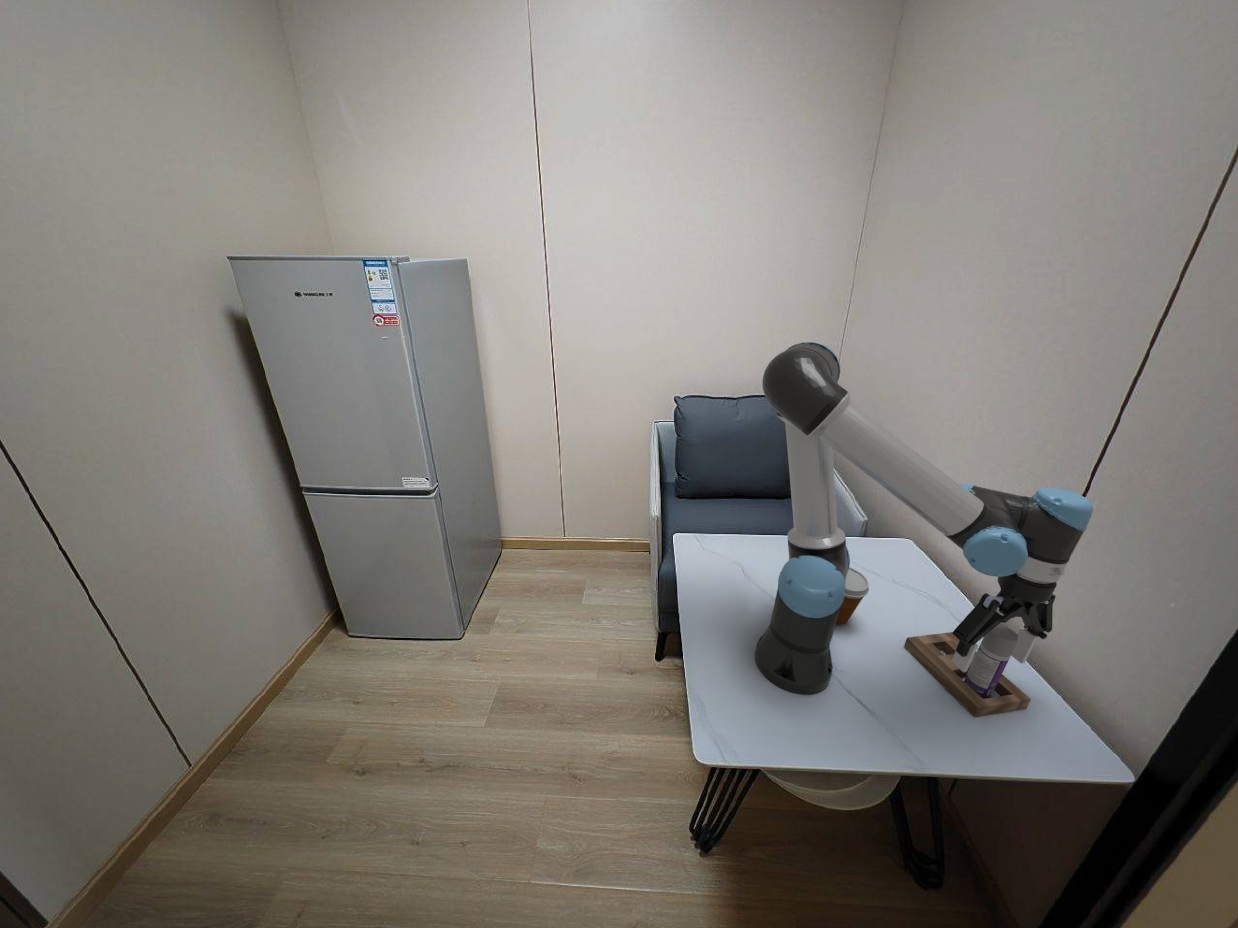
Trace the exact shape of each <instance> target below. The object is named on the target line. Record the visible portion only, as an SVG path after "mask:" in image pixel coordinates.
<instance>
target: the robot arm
mask: <svg viewBox="0 0 1238 928" xmlns="http://www.w3.org/2000/svg"><path fill="white" fill-rule="evenodd" d="M840 374H841V364H840V360H839V359H838V356H837V355H836V353H835V352H834V351H833V350H832V349H831V348H830V347H828V346H827V345H825V344H823V343H820V342H817V341H816V342H815V341H807V342H804V341H803V342H799V343H795V344H793V345H791V346H790V347H788V348H787V349H785V350H783V351H782V352H780V353H778V354H777V355H776V356H775V357H774V358H772V359H771V360H770V362H768V364H767V366H766V368H765V369H764V372H763V377H762V382H761V383H762V390H763V395H764V396H765V398H766V401H767V402H768V404H769V405H770V406H771V407H772V409H774V410H775V411H776V413H775V414H776V417H777V418H778V419H779V420H781V421H782V422H784V425H785V435H786V436H785V437H786V447H787V458H788V459H787V461H788V472H789V482H790V496H791V507H792V509H791V510H792V518H793V521H792V522H793V527H792V528H791V529H790V530H789V531H788V532H787V547H788V548H787V549H788V561H787V562H785V564H784V565H783V566H782V567H781V570H780V573H779V575H778V579H777V590H776V596H775V599H774V603H773V607H772V608H773V609H772V612H771V613H772V614H771V617H770V618H771V619H770V622H769V626H767V628H766V630H765V632H764V633H763V634H762V635H761V636H760V637H759V639H758V641H757V643H756V647H755V652H754V660H755V663H756V666H757V667H758V669H759V671H760V672H761V674H762V675H763V676H764V677H766V679H768V680H769V681H770V682H771V683H772V684H774V685H776V686H777V687H779V688H781V689H783V690H785V691H788V692H791V693H795V694H798V695H799V694H801V695H812V694H816V693H819V692H821V691H824V690H826V688H827V687H828V686H829V684H830V681H831V679H832V676H833V675H832V674H833V660H832V654H831V647H830V645H831V641H832V639H833V634H834V631H835V627H836V625H835V624H836V621H837V617H838V614H839V610H840V607H841V604H842V603H843V600H844V597H845V581H846V576H847V573H848V569H849V567H850V566H851V557H850V553H849V549H848V547H847V541H846V540H847V539H846V538H847V537H846V533H845V532H844V531H843V529H841V528H840V527H838V519H837V501H836V500H837V499H836V484H835V467H834V451H833V450H835V451H836V452H837V453H838V454H840V455H841V456H842V457H844V458H845V459H846V460H847V461H849V462H850V463H851V464H853V465H854V466H855V467H856V468H858V469H859V470H860V471H861V472H863V474H865V475H867V476H868V477H869V478H871V479H872V480H873V481H874V482H876V483H877V484H878V485H879V486H881V487H882V488H884V490H886V491H887V492H889V494H891V495H892V496H893V497H895V498H896V499H897V500H899V501H900V502H901V503H902V504H904V505H905V506H907V507H908V508H909V509H910V510H911V511H912V512H914V513H915V514H917V515H918V516H919V517H920V518H922V519H923V520H925V522H927V524H929V525H931V526H932V527H934V528H935V529H936V530H937V531H938V532H940V533H941V534H942V535H943V536H945V537H946V538H948V539H949V540H950V541H951V542H952V543H953V544H954V545H956V546H957V547H959V548H960V549H961V550H962V554H963V556H964V557H965V559H966V560H967V563H968V564H969V565H970V567H971V568H973V569H974V570H976V571H977V572H979V574H983V575H986V576H988V577H989V576H990V577H996V578H997V583H998V585H999V588H1000V590H999V592H998V593H997V594H996V596H991V594H989V593H987V592H986V593H984V594H982V596H981V597H980V600H979V601H978V603H977V604H976V605H975V607H974V608H973V609H972V610H971V611H970V612H969V613H968V614H967V615H966V616H965V617H964V618H963V619H962V621H961V622H960V623H959V624H958V625H957V626H956V628H954V630H953V631H952V632H953V633H952V634H953V635H954V636H955V637H957V638H958V639H959V640H960V641H959V643H958V646H957V648H956V652H955V654H954V656H953V659H952V662H953V663H954V664H955V665H956V666H957V667H958V668H959V669H960V670H961V671H962V672H967V670H968V668H969V665H970V663H971V661H972V659H973V657H974V654H975V652H977V650H978V648H979V645H978V644H977V643H978V642H979V641H980V640H983V638H984V636H985V635H986V634H988V633H989V632H990V631H991V630H993V629H994V628H995V627H996V626H997V625H999V624H1000V625H1001V623H1007V622H1009V621H1010V620H1011V619H1014V618H1021V619H1022V621H1023V624H1024V626H1025V627H1020V628H1019V631H1018V632H1017V633H1016V634H1017V635H1018V640H1017V643H1016V645H1015V647H1014V650H1013V652H1012V654H1011V656H1010V657H1012V658H1014V659H1015V660H1016V661H1017V662H1018V663H1020V664H1021V665H1022V664H1025V663H1026V661H1027V659H1028V658H1029V655H1030V653H1031V651H1032V650H1033V647H1034V645H1035V643H1036V642H1037V640H1038V638H1040V639H1042V640H1045V639H1046V638H1047V637H1048V634H1047V633H1050V632H1052V631H1053V614H1054V613H1053V607H1054V606H1053V605H1054V603H1055V599H1056V597H1057V596H1056V595H1055V594H1054V592H1055V590H1056V588H1057V586H1058V585H1057V584H1058V583H1057V582H1059V580H1060V578H1061V576H1063V575H1064V574H1065V568H1066V567H1067V565H1068V563H1069V561H1070V559H1071V556H1072V555H1073V553H1074V552H1075V549H1076V547H1077V546H1078V544H1079V541H1080V540H1081V539H1082V536H1083V535H1084V533H1085V532H1086V530H1087V529H1088V524H1089V522H1090V519H1091V518H1092V514H1093V511H1094V505H1093V503H1092V502H1091V501H1090V500H1089V499H1088V498H1087V497H1086V496H1085V497H1084V496H1083V495H1081V494H1079V493H1077V492H1073V491H1071V490H1067V489H1063V488H1059V487H1048V486H1047V487H1040V488H1038V489H1037V490H1036V491H1035V493H1034V494H1032V497H1031V496H1026V495H1024V496H1023V495H1018V494H1014V493H1008V492H1005V491H1000V490H996V489H991V488H986V487H981V486H977V485H975V484H968V483H967V484H965V483H960V482H957V480H954V478H952V477H951V476H949V475H948V474H946V472H945V471H943V470H941V469H940V468H939V467H938V466H936V464H933V463H932V462H931V461H929V460H928V459H927V458H926V457H924V456H923V455H921V454H920V453H919V452H917V450H915V449H914V448H912V447H911V446H910V445H908V444H907V443H906V442H904V441H903V440H902V439H901V438H899V437H898V436H896V435H895V434H894V433H892V432H891V431H890V430H889V429H887V428H886V427H884V426H883V425H882V424H881V423H879V422H878V421H876V420H875V419H874V418H873V417H871V416H870V415H869V414H867V413H866V412H865V411H863V410H862V409H860V408H859V407H858V406H857V405H856V404H855V403H853V402H851V396H850V392H849V391H847V389H845V388H843V387H842V386H841V385H840V384H839V379H840Z"/></svg>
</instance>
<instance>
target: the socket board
mask: <svg viewBox="0 0 1238 928" xmlns="http://www.w3.org/2000/svg"><path fill="white" fill-rule="evenodd" d="M952 633H953V631H950V632H949V631H948V632H944V633H943V632H942V633H935V634H934V633H933V634H925V635H924V634H923V635H917V636H911V637H909V636H908V637H906V640H905V641H904V642H905V643H904V644H903V647H904V648H905V649H906V650H907V651H908V652H909V653H910V655H912V657H914V658H915V659H916V660H917V661H918V662H919V663H920V664H921V666H923V667H924V668H925V669H926V670H927V671H928V672H929V674H931V675H932V676H933V677H934V678H935V679H936V680H937V681H938V682H939V684H940V685H942V687H944V688H945V690H946V691H948V693H950V695H952V696H953V697H954V699H956V701H957V702H958V703H960V705H962V707H963V708H964V709H966V710H967V712H968V713H970V715H971V716H972V717H973V718H977V717H983V716H989V715H997V714H1001V713H1007V712H1014V711H1019V710H1021V711H1022V710H1027V708H1028V706H1029V704H1030V702H1031V701H1032V698H1030V697H1029V696H1028V695H1027V694H1026V693H1025V692H1024V691H1022V690H1021V689H1020V688H1019V687H1018V686H1017V685H1015V684H1014V683H1013V682H1012V681H1011V680H1010V679H1009V678H1007V677H1006V676H1005V675H1003V673H1002V675H1001V677H1000V679H999V681H998V683H997V685H996V687H995V689H994V691H993V692H994V693H996V694H997V695H998V696H994V697H990V698H987V699H982V698H981V697H980V696H979V695H978V694H977V693H976V692H975V691H974V690H973V689H972V688H971V687H969V686H968V685H967V684H966V683H965V682H964V679H962V678H965V677H966V675H967V673H968V670H969V668H970V666H971V664H972V661H973V659H974V657H975V655H976V652H977V651H976V652H975V654H974V657H973V659H972V661H971V663H970V665H969V668H968V670H967V672H962V671H961V670H960V669H959V668H958V667H957V666H956V665H955V664H954V663H953V662H952V659H953V656H954V654H955V652H956V648H957V646H958V643H959V641H960V640H959V639H958V638H957V637H955V636H954V635H953V634H952Z"/></svg>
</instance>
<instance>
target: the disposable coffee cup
mask: <svg viewBox="0 0 1238 928" xmlns="http://www.w3.org/2000/svg"><path fill="white" fill-rule="evenodd" d="M869 593H870V585H869V580H868V579H867V577H866V575H864V574H863V573H862V572H860V571H858V570H857V569H855V568H853V567H850V566H849V569H848V573H847V576H846V581H845V597H844V600H843V603H842V604H841V607H840V610H839V614H838V617H837V621H836V624H835V626H843V625H846V624H847V623H848V622H849V620H850V618H851V617H853V616H852V615H853V614H854V613H855V610H856V609H857V608H858V606H859V605H860V603H861V601H862V600H863V598H864V597H865V596H867V595H868V594H869Z"/></svg>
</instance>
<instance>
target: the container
mask: <svg viewBox="0 0 1238 928" xmlns="http://www.w3.org/2000/svg"><path fill="white" fill-rule="evenodd" d="M1017 634H1018V633H1016V631H1014V630H1013V629H1011V628H1009V627H1008V626H1006V625H1004V624H1001V623H1000V624H999V625H997V626H996V627H995V628H994V629H993V630H991V631H990V632H989V633H988V634H986V635H985V636H984V637H983V638H982V639H981V642H980V644H979V645H978V648H977V650H976V655H975V657H974V659H973V661H972V664H971V666H970V668H969V670H968V673H967V675H966V677H964V679H963V681H964V682H965V683H966V684H967V685H968V686H969V687H971V688H972V689H973V690H974V691H975V692H976V693H977V694H978V695H979V696H980V697H981V698H982V699H987V698H992V696H993V693H994V692H995V691H994V689H995V687H996V685H997V683H998V681H999V679H1000V677H1001V675H1002V674H1003V673H1004V671H1005V669H1006V668H1007V667H1006V666H1007V665H1008V663H1009V662H1010V658H1011V657H1012V656H1011V654H1012V652H1013V650H1014V647H1015V645H1016V643H1017V640H1018V635H1017Z"/></svg>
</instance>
